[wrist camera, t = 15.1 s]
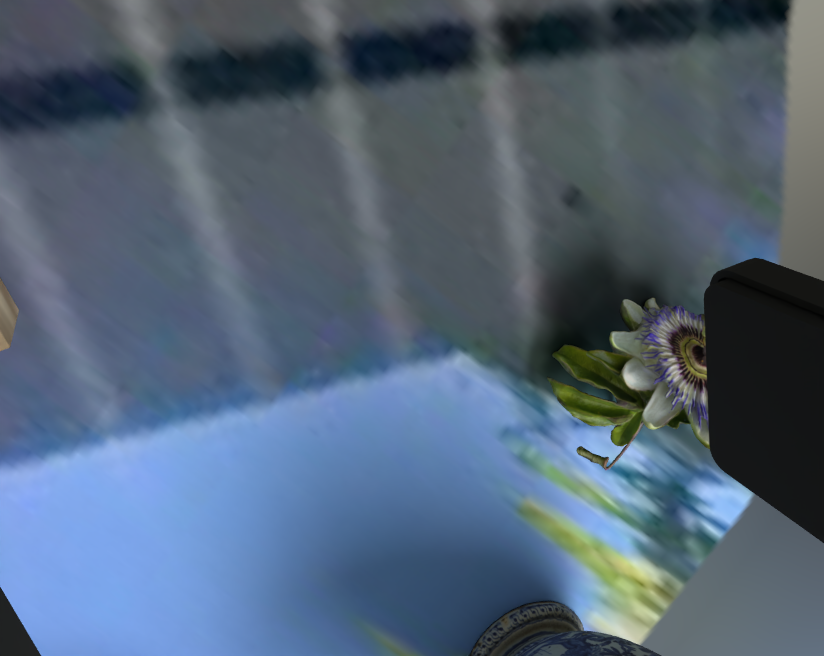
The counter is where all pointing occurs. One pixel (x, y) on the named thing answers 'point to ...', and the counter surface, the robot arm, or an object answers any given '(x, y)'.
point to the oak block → (6, 317)
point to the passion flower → (641, 376)
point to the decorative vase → (550, 635)
